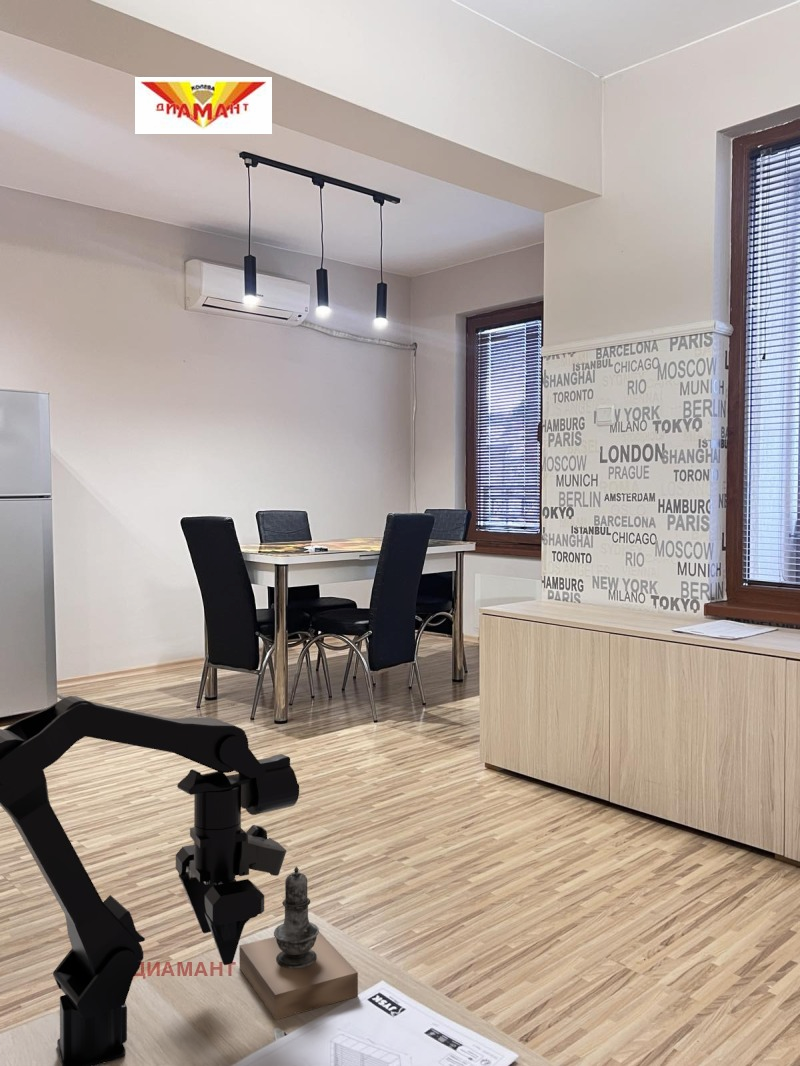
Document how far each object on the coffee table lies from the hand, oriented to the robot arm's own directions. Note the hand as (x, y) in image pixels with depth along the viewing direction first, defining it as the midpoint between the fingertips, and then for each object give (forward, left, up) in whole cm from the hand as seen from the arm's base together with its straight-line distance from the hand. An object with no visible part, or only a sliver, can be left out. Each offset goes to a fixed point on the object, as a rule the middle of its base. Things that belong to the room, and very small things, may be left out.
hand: (217, 947), depth 106 cm
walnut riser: (+11, 0, -7) cm, 13 cm away
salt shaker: (+11, 0, -4) cm, 11 cm away
